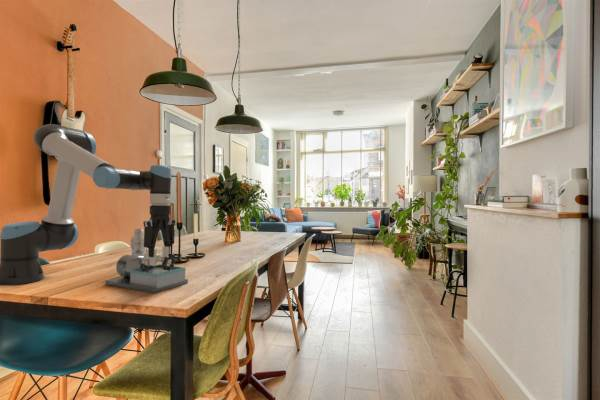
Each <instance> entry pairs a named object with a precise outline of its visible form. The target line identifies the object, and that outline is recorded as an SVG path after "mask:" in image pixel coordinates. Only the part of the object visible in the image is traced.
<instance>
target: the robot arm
mask: <svg viewBox="0 0 600 400" xmlns="http://www.w3.org/2000/svg"><path fill="white" fill-rule="evenodd" d="M33 142H34V144H35V146H36V147H37V148H38V149H39V150H40V151H42V152H43V153H45V154H46V155H48V156H51V157H52V156H53V157H54V158H55V159H56V161H57V165H56V170H55V175H54V180H53V185H52V191H51V195H50V201H49V204H48V210H47V213H46V215H44V216H43V217H41V221H40V222H39V221H34V220H32V221H31V220H29V221H19V222H14V223H8V224H6V225H4V226H2V228H1V229H0V230H1V232H0V286H14V285H23V284H29V283H31V284H32V283H34V282H38V281H42V280H43V279H45V277H44V275H45V273H44V270H43V268H42V265H41V263H40V259H39V257H40V256H39V255H40V254H39V253H40V252H47V251H49V252H50V251H57V250H58V251H60V250H64V249H68V248H71V247H72V246H73V245H75V243H76V242H77V240H78V237H79V229H78V226H77V225H76V224H75V220H74V219H73V218H72V216H73V215H72V214H73V210H74V206H75V201H76V195H77V191H78V187H79V181H80V177H81V173H84V174H85V175H87V176H89V177H91V178H92V180H93V182H94V184H95V186H97V187H99V188H103V189H107V190H109V189H110V190H111V189H118V190H119V189H120V190H129V191H130V190H131V191H142V190H143V191H145V190H147V191H149V204H150V205H149V216H150V218H149V220H147V221H146V220H145V221H143V227H144V229H143V232H144V233H143V235H144V247H146V248H148V249H149V257H150V265H151V266H156V265H157V262H156V255H157V250H158V249H157V247H156V244H157V239H158V235H159V232H160V231H161V237H162V243H163V246H162V248H161V249H162V250H161V251H162V252H161V257H162V258H165V257H169V256H168V254H171V252H170V251H171V247H173V245H174V244H175V226H176V225H175V224H176V220H175V219H171V217H170V215H171V202H172V201H171V200H172V199H171V197H172V195H171V194H172V193H171V189H172V188H171V187H172V186H171V185H172V169H171V167H170V166H169V165H162V164H161V165H160V164H153V165H150V169H149V170H133V169H126V168H119V167H116V166H114V165H112V164H111V163H110V162H107V161H106V160H104V159H102V158H100V157H99V156H97V155H95V154H96V151H97V142H96V139H95V138H94V137H93V135H92V134H91V133H90V132H88V131H84V130H81V129H77V128H72V127H68V126H63V125H60V124H54V123H48V124H43V125H41V126H39V127H38V128H36V130H35V132H34V134H33ZM146 248H145V249H146ZM162 263H163V262H161V264H162Z"/></svg>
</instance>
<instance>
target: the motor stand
mask: <svg viewBox="0 0 600 400" xmlns="http://www.w3.org/2000/svg"><path fill="white" fill-rule="evenodd" d="M144 261H145V258H144V256H136V255H132V254H124V255H122V256H121V257H120V258H119V259H118V261H117V263H116V267H115V269H116V272H117V274H118V275H119V276H120V277H119V276H118V277H116V278H111V279H107V280H105V286H106V285H108V286H113V287H118V288H123V289H126V290H127V289H128V290H134V291H138V292H143V293H149V294H155V293H156V294H157V293H159V292H160V293H161V292H163V291H166V290H169V289H172V288H177V287H179V286H182V285H185V284H189V283H188V280H189V278H186V267H183V266H175V265H174V267H173V268H172V267H170V270H169V271H168V270H163V267H165V266H163V265H162V263H160V264H156V266H147V265H145V264H144ZM167 266H170V265H169V264H167Z"/></svg>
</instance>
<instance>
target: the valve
mask: <svg viewBox="0 0 600 400" xmlns="http://www.w3.org/2000/svg"><path fill="white" fill-rule="evenodd" d="M168 256H169V257H165V258H162V256H161V255H160V254H157V255H156V263H158V262H159V263H161V264H162V265H163V266H165V267H163V270H168V271H169V270H170V267H172V268H173V267H174V266H175V265H174V263H176V262H177V259H175V258H176V255H175V254H171V253H170V254H168ZM144 258H145V261H144V264H145V265H147V266H151V265H150V257H149V249H148V248H145V255H144ZM162 262H163V263H162ZM167 265H170V266H167Z"/></svg>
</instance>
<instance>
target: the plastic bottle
mask: <svg viewBox="0 0 600 400" xmlns="http://www.w3.org/2000/svg"><path fill="white" fill-rule="evenodd" d="M133 233H134V235H133V236H132V237H131V239H130V249H131V255H136V256H144V255H145V253H146V247H144V229H143V228H135V229H134V230H133Z"/></svg>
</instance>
